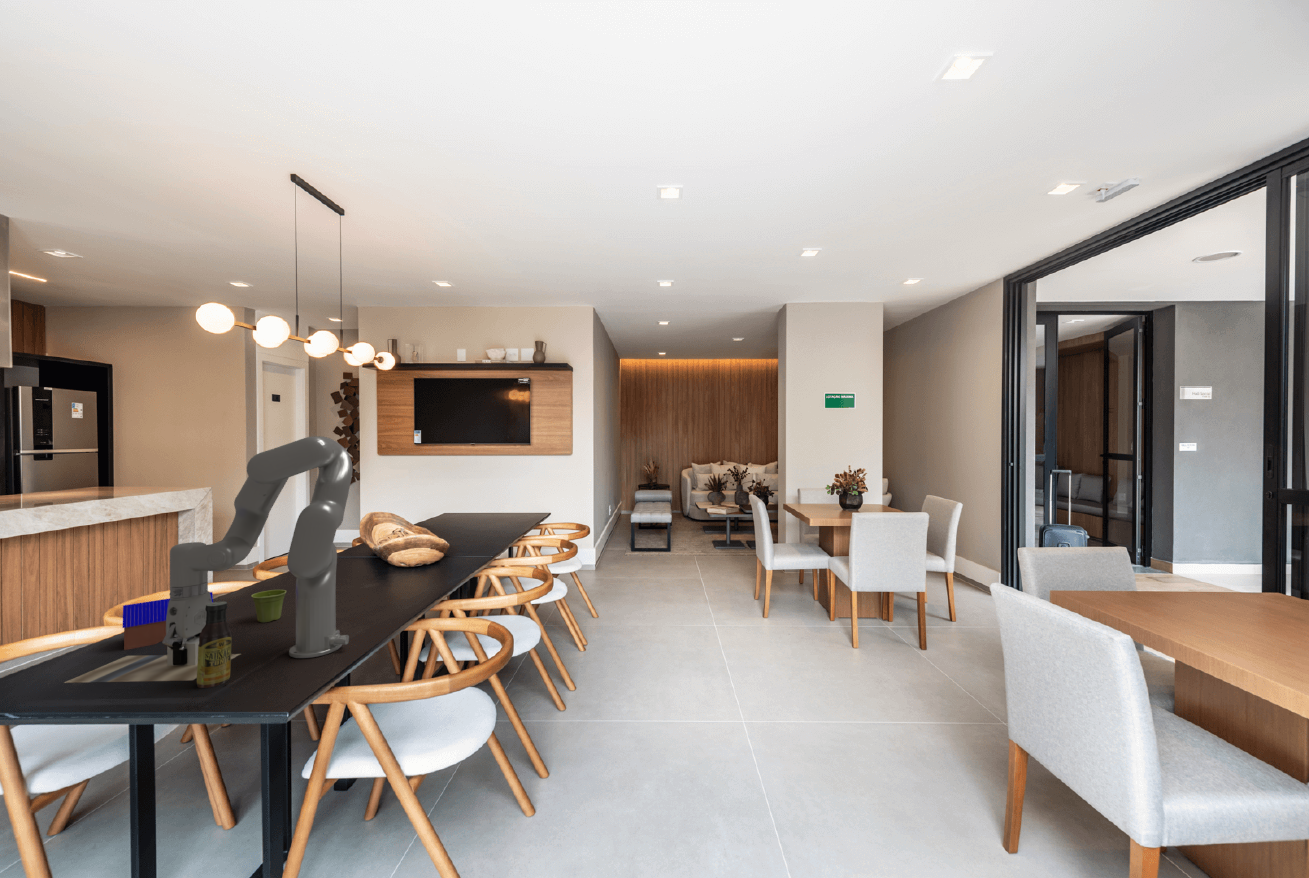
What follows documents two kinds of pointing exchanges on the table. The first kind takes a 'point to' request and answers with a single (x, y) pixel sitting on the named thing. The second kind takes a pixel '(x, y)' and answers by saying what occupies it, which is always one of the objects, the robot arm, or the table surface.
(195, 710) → the table surface
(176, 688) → the table surface
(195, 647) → the light grey block
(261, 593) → the plant pot
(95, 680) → the board
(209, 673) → the sauce bottle
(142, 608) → the house
